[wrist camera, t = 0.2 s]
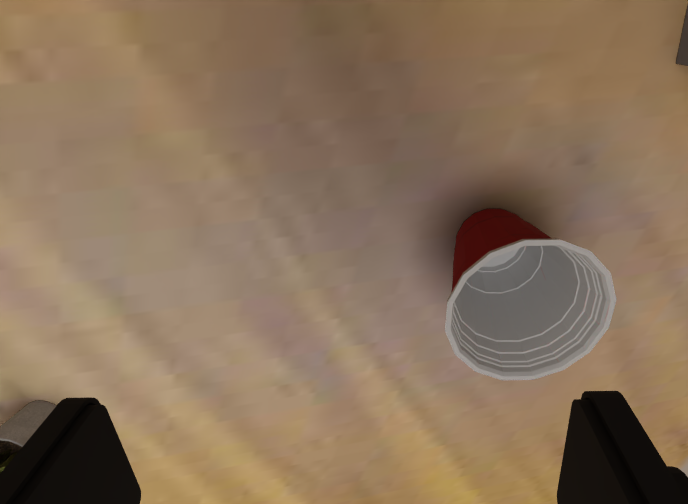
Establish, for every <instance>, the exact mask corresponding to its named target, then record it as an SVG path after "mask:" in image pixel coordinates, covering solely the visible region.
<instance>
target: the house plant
mask: <svg viewBox="0 0 688 504" xmlns="http://www.w3.org/2000/svg"><path fill="white" fill-rule="evenodd" d="M55 407H56V405H54V404H52V403H50V402H46V401H33V402H30V403H29V404H27V405H26V406H25V407H24V408H22V409H21V410H20V411H19V412H17V413H16V414H15V415H14V416H12V417H11V418H10V419H9V420H8V421H6V422H5V423H4V424H3V425H1V426H0V473H1V472H2V471H3V470H4V468H5V467H6V466H7V465H8V464H9V462H10V461H11V460H12V459H13V458H14V456H15V455H16V454H17V453H18V452H19V450H20V449H21V448H22V447H23V446H24V444H25V443H26V442H27V441H28V440H29V438H30V437H31V436H32V435H33V434H34V432H35V431H36V430H37V429H38V428H39V426H40V425H41V424H42V423H43V422H44V420H45V419H46V418H47V417H48V415H49V414H50V413H51V412H52V411H53V409H54V408H55Z"/></svg>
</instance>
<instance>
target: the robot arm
mask: <svg viewBox="0 0 688 504" xmlns="http://www.w3.org/2000/svg"><path fill="white" fill-rule="evenodd" d="M140 500H141V490H140V487H139V484H138V482H137V480H136V477H135V475H134V473H133V470H132V468H131V465H130V463H129V461H128V458H127V456H126V454H125V451H124V449H123V447H122V444H121V442H120V440H119V437H118V435H117V432H116V430H115V428H114V425H113V423H112V421H111V418H110V416H109V414H108V411H107V409H106V407H105V406H104V405H101V404H100V403H99V401H98V400H97V399H96V398H66V399H63V400H62V401H61V402H60V403H59V404H58V405H57V406H56V407H55V408H54V409H53V411H52V412H51V413H50V414H49V415H48V417H47V418H46V419H45V420H44V422H43V423H42V424H41V425H40V426H39V428H38V429H37V430H36V431H35V432H34V434H33V435H32V436H31V437H30V438H29V440H28V441H27V442H26V443H25V444H24V446H23V447H22V448H21V449H20V450H19V452H18V453H17V454H16V455H15V456H14V458H13V459H12V460H11V461H10V462H9V464H8V465H7V466H6V467H5V468H4V470H3V471H2V472H1V473H0V504H140ZM557 502H558V504H688V477H687V476H686V475H685V473H683V472H682V471H681V470H680V469H678V468H676V467H669V466H666V464H665V463H664V461H663V460H662V458H661V456H660V455H659V453H658V452H657V450H656V448H655V447H654V445H653V443H652V442H651V440H650V439H649V437H648V435H647V434H646V432H645V430H644V429H643V427H642V426H641V424H640V422H639V421H638V419H637V418H636V416H635V414H634V413H633V411H632V409H631V408H630V406H629V405H628V403H627V401H626V400H625V398H624V397H623V395H622V394H621V393H620V392H618V391H585V392H584V393H583V394H582V397H581V399H579V400H573V402H572V407H571V413H570V419H569V424H568V430H567V436H566V442H565V448H564V454H563V460H562V466H561V472H560V478H559V484H558V490H557Z"/></svg>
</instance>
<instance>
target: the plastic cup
mask: <svg viewBox="0 0 688 504" xmlns="http://www.w3.org/2000/svg"><path fill="white" fill-rule="evenodd" d="M615 303H616V296H615V291H614V286H613V282H612V277H611V273H610V272H609V271H608V269H607V268H606V267H605V266H604V265H603V264H602V263H601V262H600V261H599V259H598V258H597V257H596V256H595V255H594V254H593V253H592V252H591V251H589V250H586V249H584V248H581V247H579V246H576V245H573V244H571V243H568V242H566V241H563V240H560V239H552V238H550V237H549V236H547V235H546V234H545V233H543V232H542V231H540V230H539V229H537V228H536V227H534V226H533V225H531V224H530V223H528V222H525V221H524V220H523V219H521V218H520V217H519V216H517V215H516V214H513V213H511V212H508V211H506V210H503V209H485V210H482V211H479V212H477V213H474V214H473V215H472V216H470V217H469V218H468V219H467V220H466V221H464V223H463V224H462V226H461V228H460V230H459V232H458V234H457V236H456V246H455V252H454V263H453V285H452V293H451V295H450V296H449V298H448V302H447V313H446V324H445V332H446V334H447V337H448V339H449V341H450V344H451V346H452V349H453V351H454V353H455V355H456V356H457V357H459V358H460V359H461V360H462V361H463V362H464V363H466V364H467V365H468V366H469V367H470V368H472V369H473V370H474V371H475V372H478V373H481V374H484V375H487V376H491V377H494V378H497V379H500V380H534V379H537V378H540V377H543V376H546V375H549V374H553V373H556V372H559V371H562V370H564V369H566V368H567V367H569V366H570V365H572V364H573V363H575V362H576V361H578V360H579V359H581V358H582V357H583V356H585V355H586V354H588V353H589V352H590V351H591V350H592V349H593V348H594V346H595V345H596V344H597V342H598V341H599V340H600V338H601V337H602V336H603V335H604V333H605V332H606V331H607V329H608V328H609V325H610V322H611V318H612V314H613V311H614V307H615Z"/></svg>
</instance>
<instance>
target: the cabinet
mask: <svg viewBox="0 0 688 504" xmlns="http://www.w3.org/2000/svg"><path fill="white" fill-rule="evenodd" d="M676 64H681V65H686V66H688V6H687V11H686V16H685V21H684V26H683V31H682V36H681V40H680V45H679V50H678V55H677V60H676Z"/></svg>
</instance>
